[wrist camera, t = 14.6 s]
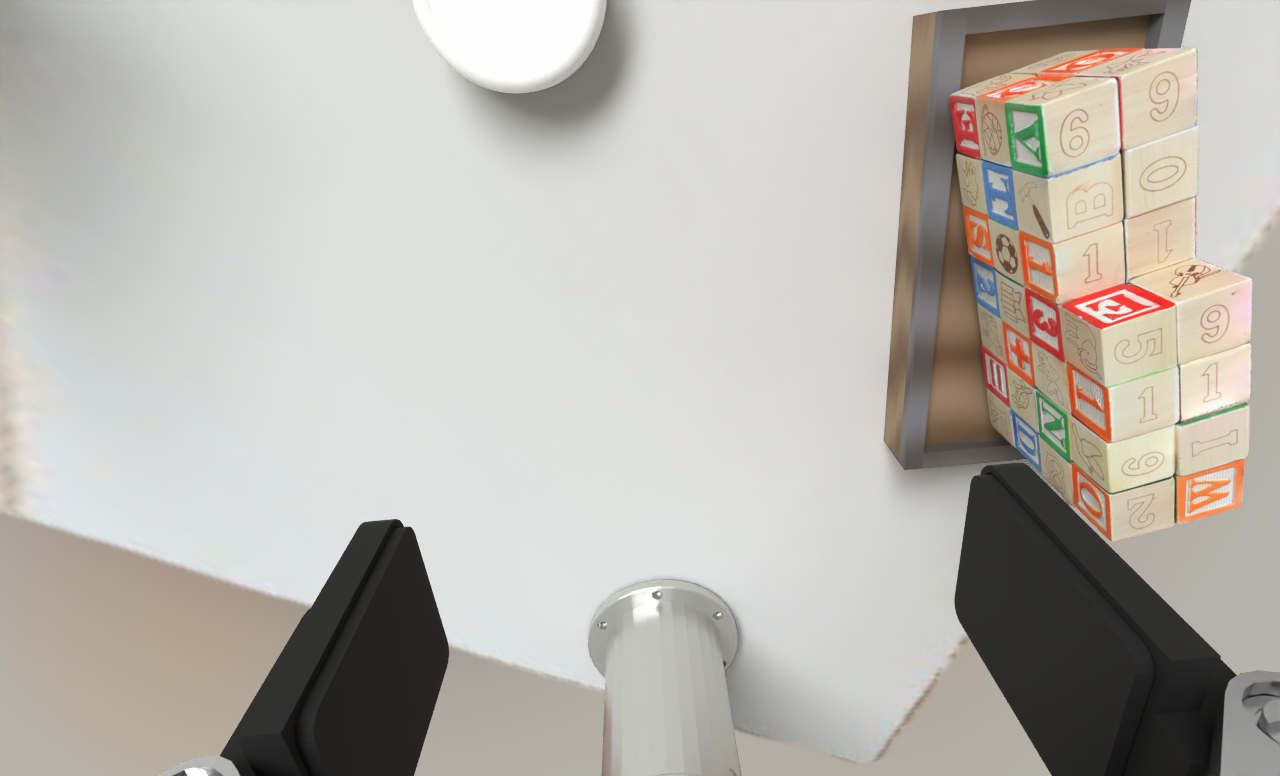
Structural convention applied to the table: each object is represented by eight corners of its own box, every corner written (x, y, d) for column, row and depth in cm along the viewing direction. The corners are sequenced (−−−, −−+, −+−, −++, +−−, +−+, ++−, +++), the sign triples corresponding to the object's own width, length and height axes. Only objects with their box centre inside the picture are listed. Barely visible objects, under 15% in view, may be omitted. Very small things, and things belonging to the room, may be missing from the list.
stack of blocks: (942, 93, 35) (1087, 104, 24) (1064, 49, 34) (1272, 39, 23) (990, 427, 44) (1113, 547, 33) (1088, 398, 43) (1247, 511, 32)
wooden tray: (1054, 424, 48) (1088, 453, 45) (884, 440, 49) (904, 469, 45) (1139, -9, 37) (1195, -18, 33) (913, 16, 37) (944, 10, 33)
